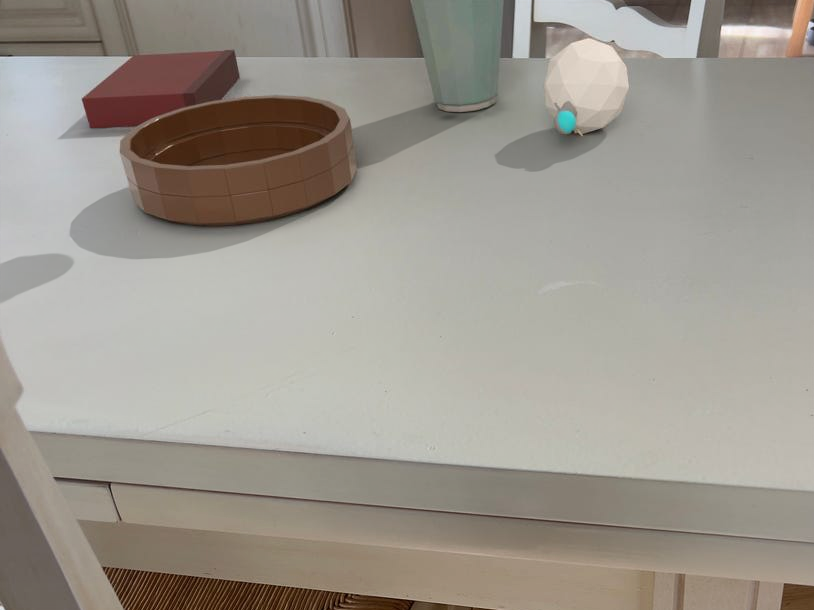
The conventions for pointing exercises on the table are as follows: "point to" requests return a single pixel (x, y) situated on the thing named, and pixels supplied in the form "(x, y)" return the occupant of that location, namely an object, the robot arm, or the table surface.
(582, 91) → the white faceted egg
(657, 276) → the table surface
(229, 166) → the bowl
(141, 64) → the book
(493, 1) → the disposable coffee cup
